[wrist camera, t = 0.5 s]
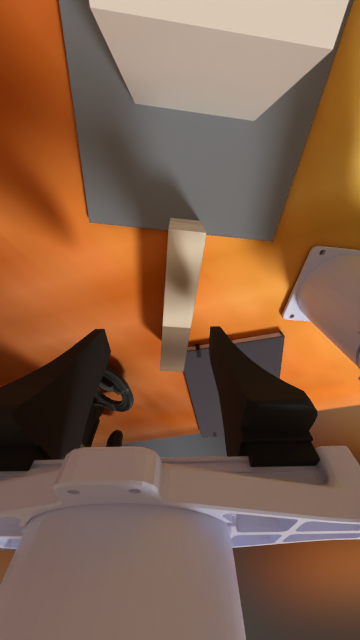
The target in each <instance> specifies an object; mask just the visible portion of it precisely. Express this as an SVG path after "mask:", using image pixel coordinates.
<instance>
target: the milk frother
mask: <svg viewBox="0 0 360 640" xmlns="http://www.w3.org/2000/svg"><path fill="white" fill-rule="evenodd" d="M98 387H100V388H102V389H104V390H108V391H110V392H111V391H113V392H115V393H117V394H118V395H119V394H121V396H122V401H114V400H112V399H110V398H108V397H106V396H105V395H104V394H103V393H102V392H101V391H100V390H99V389H98V388H97V391H96V393H95V396H94V399H93V402H92V405H91V408H90V411H89V415H88V419H87V422H86V426H85V430H84V434H83V438H82V442H81V446H80V448H84V447H91V445H92V442H93V439H94V436H95V433H96V430H97V427H98V424H99V421H100V420H99V417H100V416H101V415H102V412H103V407H106V408H108V409H110V410H114V411H119V412H124V411H128V410H129V409H130V408H131V407H132V405H133V402H134V399H133V394H132V392H131V389H130V388H129V386H128V384H127V382H126V381H125V380H124V378H123V377H122V376H121V375H120V374H119V373H118V372H116V371H115V370H114V369H112V368H110V367H108V366H107V367H106V370H105V372H104V374H103V377H102V379H101V381H100V384H99V386H98ZM101 402H102V403H101ZM102 406H103V407H102ZM122 439H123V434H122V432H121V431H119V430H115V431H114V432H113V433H112V434H111V435H110V436H109V438H108V441H107V445H106V447H121V446H122ZM0 549H2V550H13V551H16V550H17V549H10V548H0Z"/></svg>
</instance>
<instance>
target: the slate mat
mask: <svg viewBox="0 0 360 640" xmlns="http://www.w3.org/2000/svg"><path fill="white" fill-rule="evenodd" d="M353 1H354V0H349V2H348V5H347V8H346V11H345V14H344V17H343V20H342V23H341V26H340V29H339V32H338V35H337V38H336V41H335V44H334V48H333V50H332V51H331V52H330V53H329V54H327V55H326V56H325V57H324V58H323V59H322V60H321V61H320V62H319V63H317V64H316V65H315V66H314V67H313V68H312V69H311V70H310V71H309V72H308V73H306V74H305V75H304V76H303V77H302V78H301V79H300V80H299V81H298V82H297V83H295V84H294V85H293V86H292V87H291V88H290V89H289V90H288V91H287V92H286V93H284V94H283V95H282V96H281V97H280V98H279V99H278V100H277V101H276V102H275V103H273V104H272V105H271V106H270V107H269V108H268V109H267V110H266V111H265V112H264V113H262V114H261V115H260V116H259V117H258V118H257V119H256V120H255V121H251V120H244V119H237V118H230V117H224V116H217V115H210V114H203V113H196V112H189V111H182V110H175V109H168V108H162V107H155V106H148V105H141V104H135V102H134V100H133V98H132V96H131V94H130V92H129V90H128V87H127V85H126V83H125V81H124V79H123V77H122V75H121V73H120V70H119V68H118V66H117V64H116V62H115V60H114V58H113V56H112V53H111V51H110V49H109V47H108V45H107V43H106V41H105V38H104V36H103V34H102V32H101V30H100V28H99V26H98V24H97V21H96V19H95V17H94V15H93V13H92V11H91V9H90V4H89V0H59V6H60V13H61V20H62V27H63V35H64V42H65V49H66V56H67V64H68V71H69V78H70V85H71V93H72V100H73V107H74V114H75V121H76V129H77V136H78V143H79V150H80V158H81V165H82V172H83V179H84V187H85V194H86V201H87V208H88V216H89V222H90V223H99V224H109V225H118V226H128V227H138V228H147V229H157V230H167V231H168V229H169V223H170V218H178V219H188V220H197V221H200V222H201V224H202V225H203V227H204V229H205V231H206V235H215V236H224V237H234V238H244V239H253V240H263V241H273V239H274V236H275V233H276V230H277V227H278V224H279V221H280V218H281V215H282V212H283V209H284V206H285V203H286V200H287V197H288V194H289V191H290V188H291V185H292V182H293V179H294V176H295V173H296V170H297V167H298V164H299V161H300V158H301V155H302V152H303V149H304V146H305V143H306V140H307V138H308V135H309V132H310V129H311V126H312V123H313V120H314V117H315V114H316V111H317V108H318V105H319V102H320V99H321V96H322V93H323V90H324V87H325V84H326V81H327V78H328V75H329V72H330V69H331V66H332V63H333V60H334V57H335V54H336V51H337V48H338V45H339V42H340V39H341V36H342V33H343V30H344V28H345V25H346V22H347V19H348V16H349V13H350V10H351V7H352V4H353Z"/></svg>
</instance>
